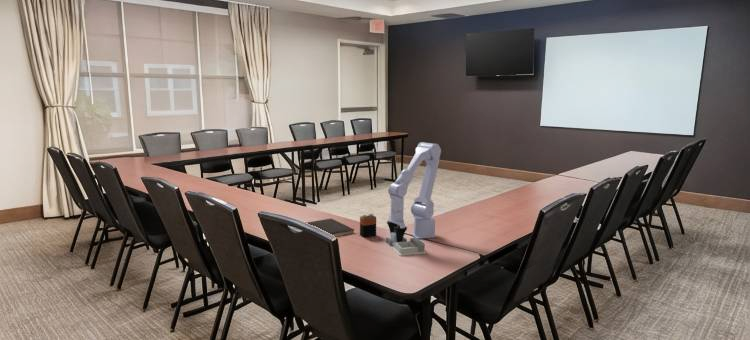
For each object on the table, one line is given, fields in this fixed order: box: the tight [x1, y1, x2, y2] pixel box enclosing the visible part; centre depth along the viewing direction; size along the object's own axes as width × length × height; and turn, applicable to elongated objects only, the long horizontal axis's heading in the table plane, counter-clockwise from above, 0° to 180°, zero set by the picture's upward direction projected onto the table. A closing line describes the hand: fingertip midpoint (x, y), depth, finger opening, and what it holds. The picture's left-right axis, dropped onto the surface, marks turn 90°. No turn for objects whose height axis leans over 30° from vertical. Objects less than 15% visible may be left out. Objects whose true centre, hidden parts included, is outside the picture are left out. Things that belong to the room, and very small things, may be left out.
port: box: [391, 237, 428, 257], centre depth 192 cm, size 12×10×4 cm
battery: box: [359, 213, 377, 238], centre depth 211 cm, size 4×7×10 cm, turn 116°
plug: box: [390, 232, 397, 246], centre depth 201 cm, size 4×4×6 cm
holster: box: [385, 236, 408, 246], centre depth 202 cm, size 8×5×2 cm, turn 108°
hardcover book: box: [306, 218, 355, 237], centre depth 220 cm, size 16×23×2 cm
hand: (396, 239), depth 201 cm, fingers open, 7 cm apart
